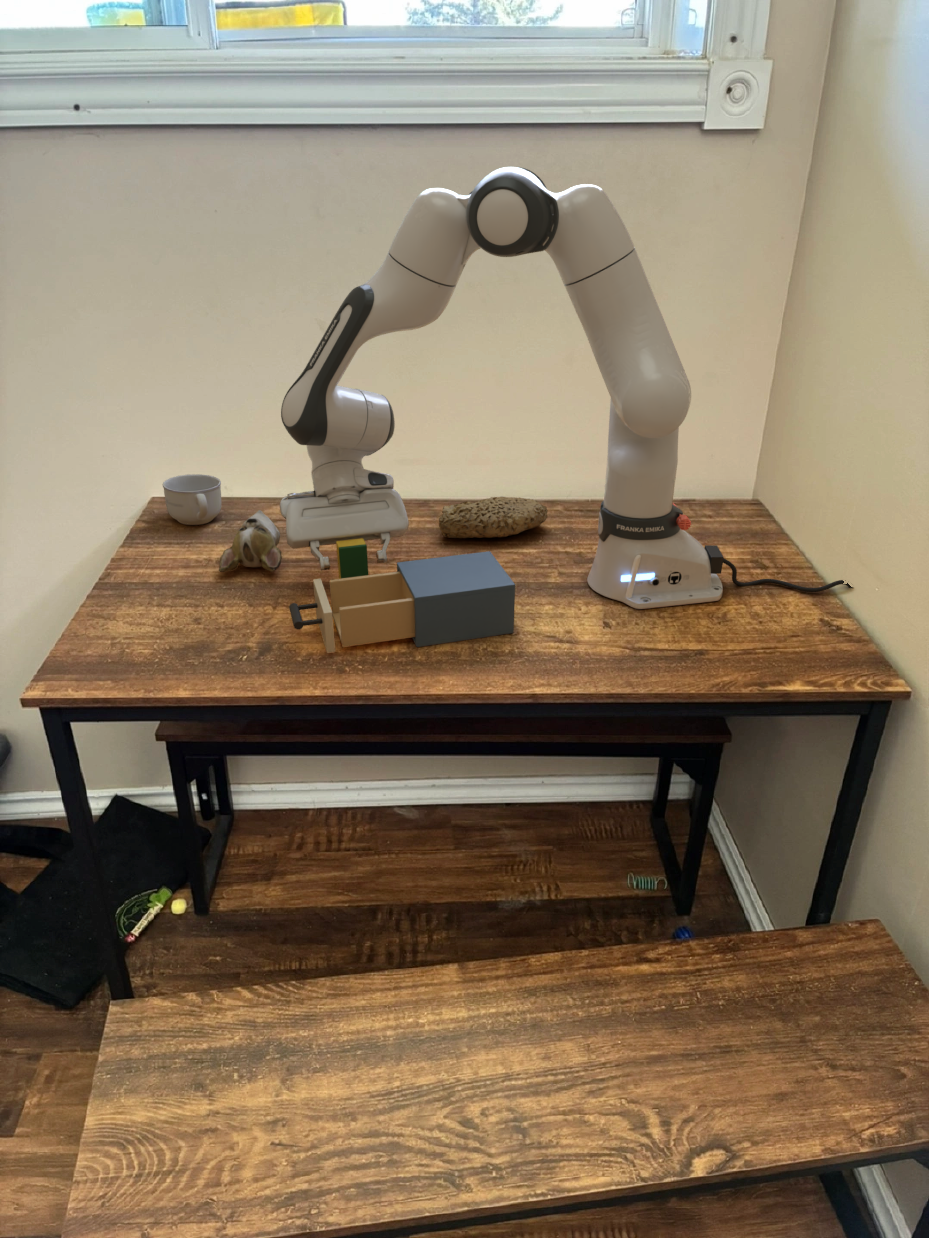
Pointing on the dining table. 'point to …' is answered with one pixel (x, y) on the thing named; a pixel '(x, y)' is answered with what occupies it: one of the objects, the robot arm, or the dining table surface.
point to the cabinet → (459, 597)
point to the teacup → (193, 498)
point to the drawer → (361, 610)
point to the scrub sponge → (352, 558)
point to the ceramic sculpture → (254, 545)
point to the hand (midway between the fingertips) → (354, 565)
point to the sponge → (491, 517)
